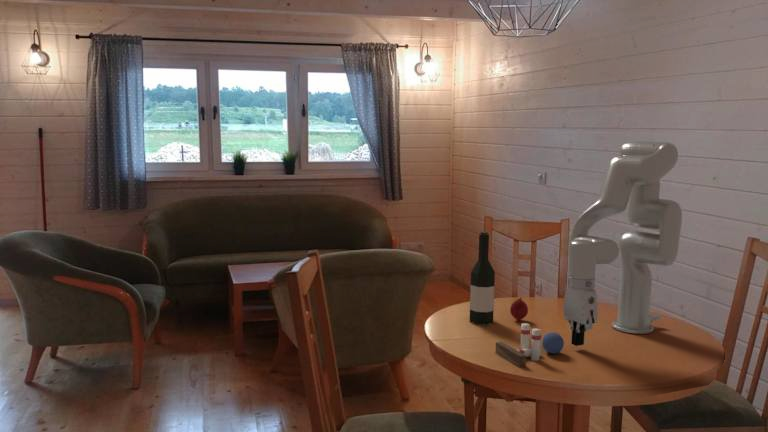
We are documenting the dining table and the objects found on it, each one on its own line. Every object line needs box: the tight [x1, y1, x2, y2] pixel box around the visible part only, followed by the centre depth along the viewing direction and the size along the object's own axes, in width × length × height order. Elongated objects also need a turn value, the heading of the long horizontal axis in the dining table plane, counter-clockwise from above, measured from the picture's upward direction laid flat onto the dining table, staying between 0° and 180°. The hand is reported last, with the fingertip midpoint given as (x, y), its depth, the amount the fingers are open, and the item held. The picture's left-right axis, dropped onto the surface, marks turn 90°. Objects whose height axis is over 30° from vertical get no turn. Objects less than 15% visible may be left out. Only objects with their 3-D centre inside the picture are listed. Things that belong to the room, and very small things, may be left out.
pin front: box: [516, 347, 543, 358], centre depth 182 cm, size 2×2×8 cm
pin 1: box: [520, 322, 531, 349], centre depth 185 cm, size 2×2×8 cm
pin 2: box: [530, 328, 542, 362], centre depth 180 cm, size 2×2×8 cm
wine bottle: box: [469, 230, 496, 326], centre depth 214 cm, size 8×8×30 cm
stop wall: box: [495, 341, 527, 368], centre depth 180 cm, size 2×12×3 cm, turn 22°
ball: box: [541, 332, 565, 355], centre depth 185 cm, size 6×6×6 cm
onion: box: [509, 296, 529, 321], centre depth 216 cm, size 6×6×8 cm
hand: (577, 344), depth 189 cm, fingers closed
